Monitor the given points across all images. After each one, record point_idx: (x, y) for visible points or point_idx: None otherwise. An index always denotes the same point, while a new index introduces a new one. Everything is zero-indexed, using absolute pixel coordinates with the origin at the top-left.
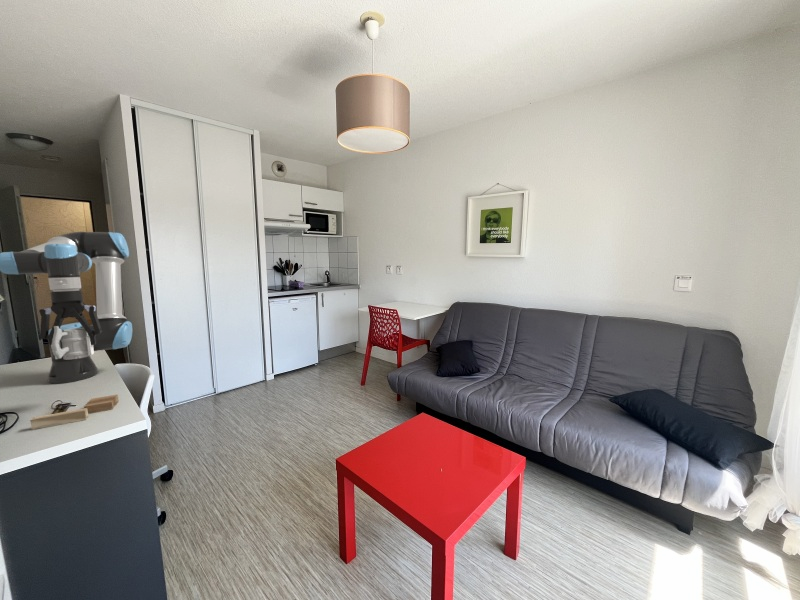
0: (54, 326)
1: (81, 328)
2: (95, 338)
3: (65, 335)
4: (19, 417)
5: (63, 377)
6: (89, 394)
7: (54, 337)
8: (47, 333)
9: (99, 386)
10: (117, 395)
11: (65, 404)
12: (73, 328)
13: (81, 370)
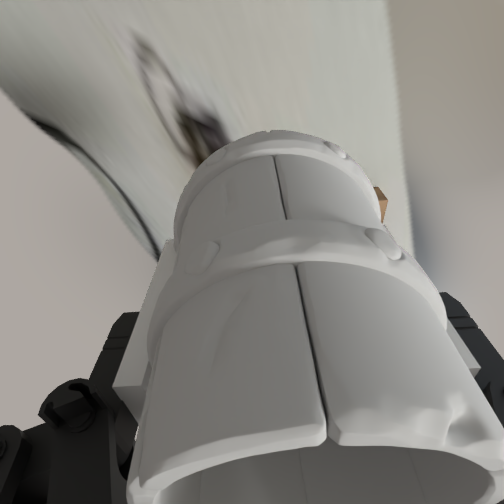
0: None
1: (415, 427)
2: (484, 350)
3: (244, 468)
4: (125, 193)
5: None
6: (249, 17)
7: None
8: (3, 502)
9: None
10: (386, 202)
11: (206, 128)
12: (247, 451)
13: None
